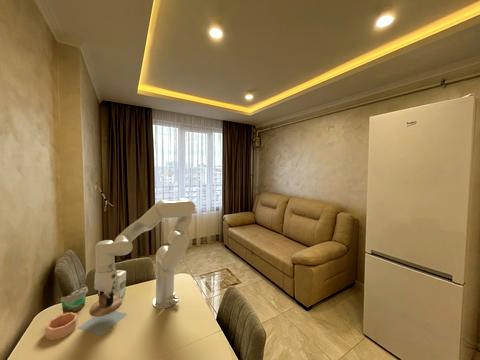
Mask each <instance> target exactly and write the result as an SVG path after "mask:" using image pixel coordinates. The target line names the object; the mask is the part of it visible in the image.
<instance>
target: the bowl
mask: <svg viewBox="0 0 480 360" xmlns="http://www.w3.org/2000/svg"><path fill="white" fill-rule="evenodd" d="M78 315H79V314H78V313H77V312H75V313H72V312H70V313H66V314H63V313H62V314H59V315H57V316H56V317H54V318H51V319H50V320H49V321H48V322H47V324H46V326H45V334H44V335H45V336H44V337H45V339H47V340H50V341H55V340H58V339H61V338H66V336H68V335H70V334H71V333H72V332H74V331H75V330H76V329H77V326H78V321H79V319H78V318H79V317H78Z"/></svg>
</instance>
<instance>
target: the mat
mask: <svg viewBox="0 0 480 360" xmlns="http://www.w3.org/2000/svg"><path fill="white" fill-rule="evenodd" d="M127 315H128V314H127V313H124V312H120V311H117V310H115V311H114V312H112V313H110V314H107V315H104V316H99V317H94V316H92V317H91V318H90V319H88V320H86V321H85V322H84V323H82V324H81V325H79V326H78V327H77V329H79V330H82V331H85V332H88V333H91V334H94V335H97V336H100V337H101V336H103V335H104V334H105V333H106V332H108V331H109V330H110V329H111V328H113V327H114V326H115V325H116V324H118V323H119V322H120V321H121V320H122V319H123V318H125V316H127Z"/></svg>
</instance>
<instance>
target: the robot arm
mask: <svg viewBox="0 0 480 360" xmlns="http://www.w3.org/2000/svg"><path fill="white" fill-rule="evenodd" d="M195 211H196V205H195V203H194V202H193V201H192V200H189V199H187V198H183V197H181V198H179V199H177V200H176V201H169V200H166V199H161V200H159V201H157V202H156V203H155V204H154V205H152V207H150V208H149V209H148V210H147V211H146V212H145V213H144V214H143V215H142V216H141V217H139V218H138V219H136V220H135V222H132V223H131V224H129V226H127V227H126V228H125V229H123V230H122V231H121V233H119V234H118V235H117V236H116V237H115V239H114V241H113V240H111V239H105V240H101V241H98V242H97V243H96V244H95V245H94V247H95V249H94V251H95V253H94V254H95V271H94V272H95V273H94V282H93V284H94V285H93V289H94V290H95V292H96V293H97V296H98V297H99V296H101V295H102V294H104V293H105V292H107V298H106V301H107V306H109V305H111V304H112V303H113V295H114V294H115V293H117V292H118V289H117V287H118V276H117V269H116V263H115V256H116V257H117V256H121V257H122V256H126V255H128V254H130V253H131V252H132V250H133V247H134V246H133V243H132V242H133V241H134V240H135V239H136V238H137V237H138V236H140V235H141V234H143V233H145V232H148V231H152V230H153V228H155V227H156V226H157V225H158V224H159V223H160V222H161V221H162V220H163V219H172V218H173V219H174V218H176V220H175V223H174V225H173V226H172V227H171V230H170V232H169V233H168V235H167V238H166V239H167V242H168V244H169V245H162V246H161V247H159V249H158V250H157V251H156V253H155V267H156V270H155V273H156V275H155V297H154V299H153V300H152V306H153V308H155V309H161V310H164V309H168V308H170V307H173V305H175V304H176V305H177V304H179V302H180V301H179V298H180V297H179V296H176V292H175V290H174V287H175V286H174V285H175V269H176V268H177V267H178V266H179V264H180V263H181V260H182V259H183V257H184V255H185V253H186V251H187V249H188V247H189V245H190V237H189V236H188V234H187V232H188V231H189V229H190V227H191V225H192V221H193V214H194V212H195ZM109 292H111V294H110V293H109Z"/></svg>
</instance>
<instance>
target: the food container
mask: <svg viewBox="0 0 480 360" xmlns="http://www.w3.org/2000/svg"><path fill="white" fill-rule="evenodd" d="M88 292H89V289H88V286H87V285H86V284H83V286H81V287H80V288H78V289H76V290H73V291H72V292H70V293H69V294H68V295H66V296H61V298H60V301H59V302H61V309H62V314H66V313H70V312H72V313H78V312H79V311H81V310H82V309H83V308H85V306H86V297H87V293H88Z"/></svg>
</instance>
